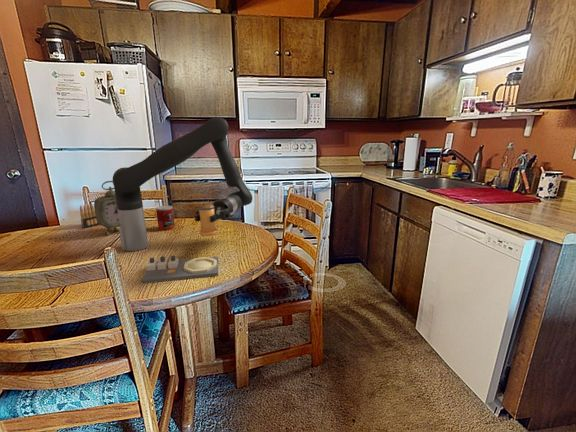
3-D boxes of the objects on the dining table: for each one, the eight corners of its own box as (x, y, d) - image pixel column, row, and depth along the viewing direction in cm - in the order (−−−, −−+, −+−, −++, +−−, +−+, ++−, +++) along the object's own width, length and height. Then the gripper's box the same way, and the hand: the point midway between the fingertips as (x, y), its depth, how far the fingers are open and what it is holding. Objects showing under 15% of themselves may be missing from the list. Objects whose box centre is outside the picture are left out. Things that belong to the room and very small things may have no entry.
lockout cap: (196, 235, 103) (194, 207, 101) (205, 230, 109) (202, 203, 106) (212, 236, 102) (210, 208, 99) (220, 231, 108) (218, 204, 105)
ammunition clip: (84, 228, 150) (79, 205, 147) (82, 228, 151) (77, 205, 148) (105, 223, 159) (101, 201, 156) (103, 222, 160) (99, 201, 157)
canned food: (165, 231, 145) (162, 209, 142) (155, 228, 149) (152, 207, 146) (178, 227, 152) (175, 206, 149) (168, 225, 156) (165, 204, 153)
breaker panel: (141, 283, 95) (139, 271, 94) (151, 264, 109) (149, 254, 107) (218, 275, 100) (217, 264, 99) (218, 258, 113) (217, 248, 112)
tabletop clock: (105, 237, 138) (95, 183, 131) (97, 233, 143) (87, 182, 136) (136, 229, 149) (129, 179, 142) (127, 226, 154) (120, 178, 147)
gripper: (207, 197, 118) (183, 207, 102) (241, 198, 115) (222, 209, 99) (208, 215, 120) (185, 228, 104) (242, 217, 117) (223, 231, 101)
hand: (203, 219), depth 101 cm, fingers closed on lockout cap, 5 cm apart
